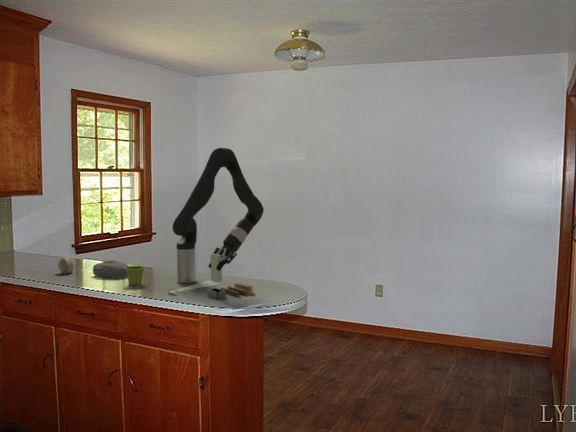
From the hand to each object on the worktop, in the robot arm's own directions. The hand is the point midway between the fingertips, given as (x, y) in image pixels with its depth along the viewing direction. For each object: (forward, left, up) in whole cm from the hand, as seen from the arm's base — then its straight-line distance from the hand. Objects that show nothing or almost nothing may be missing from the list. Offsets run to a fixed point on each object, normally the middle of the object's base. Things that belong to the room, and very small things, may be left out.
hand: (213, 268), depth 226 cm
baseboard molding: (-23, -1, -15) cm, 28 cm away
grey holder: (0, +1, -14) cm, 14 cm away
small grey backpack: (-71, -39, -14) cm, 82 cm away
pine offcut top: (-5, +15, -11) cm, 19 cm away
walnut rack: (-4, +12, -14) cm, 19 cm away
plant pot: (-45, -29, -14) cm, 56 cm away
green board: (0, +1, -6) cm, 6 cm away
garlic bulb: (-90, -62, -14) cm, 110 cm away
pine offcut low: (-5, +14, -13) cm, 20 cm away
